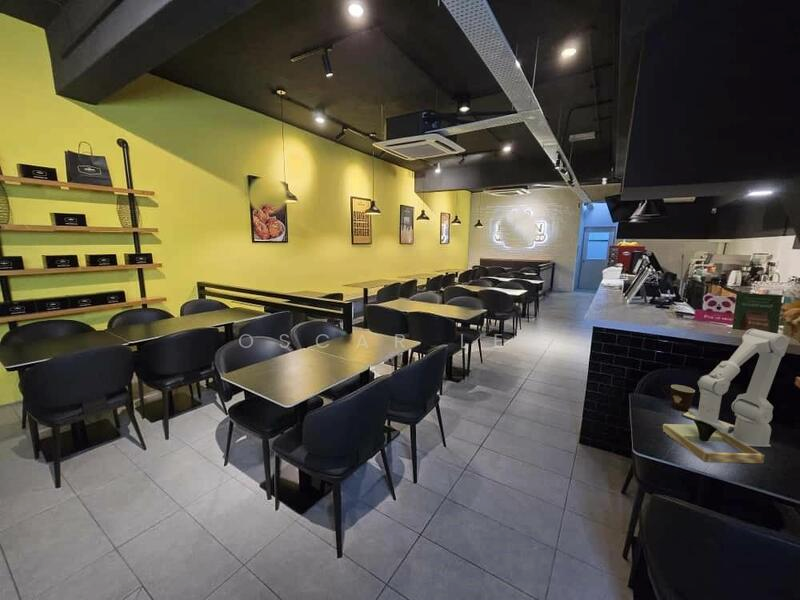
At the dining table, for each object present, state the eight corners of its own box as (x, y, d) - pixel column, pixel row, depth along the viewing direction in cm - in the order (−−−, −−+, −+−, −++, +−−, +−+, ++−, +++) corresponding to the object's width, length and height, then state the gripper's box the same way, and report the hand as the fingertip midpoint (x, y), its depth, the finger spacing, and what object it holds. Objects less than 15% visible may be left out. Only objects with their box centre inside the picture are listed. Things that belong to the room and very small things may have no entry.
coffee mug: (697, 413, 149) (700, 392, 148) (678, 412, 149) (681, 392, 148) (676, 401, 161) (679, 382, 159) (658, 401, 161) (661, 382, 160)
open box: (713, 433, 133) (714, 426, 132) (763, 463, 114) (764, 455, 113) (663, 432, 133) (664, 425, 133) (705, 461, 114) (706, 453, 114)
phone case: (680, 417, 147) (727, 434, 132) (680, 414, 146) (727, 430, 132) (689, 413, 151) (737, 429, 136) (690, 410, 150) (737, 426, 136)
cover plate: (701, 430, 136) (701, 424, 135) (721, 442, 127) (722, 437, 126) (662, 429, 136) (662, 423, 136) (680, 441, 127) (680, 436, 127)
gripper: (682, 398, 131) (677, 429, 133) (716, 416, 117) (710, 451, 119) (700, 398, 131) (695, 430, 133) (736, 416, 117) (730, 451, 119)
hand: (703, 440), depth 126 cm, fingers closed
